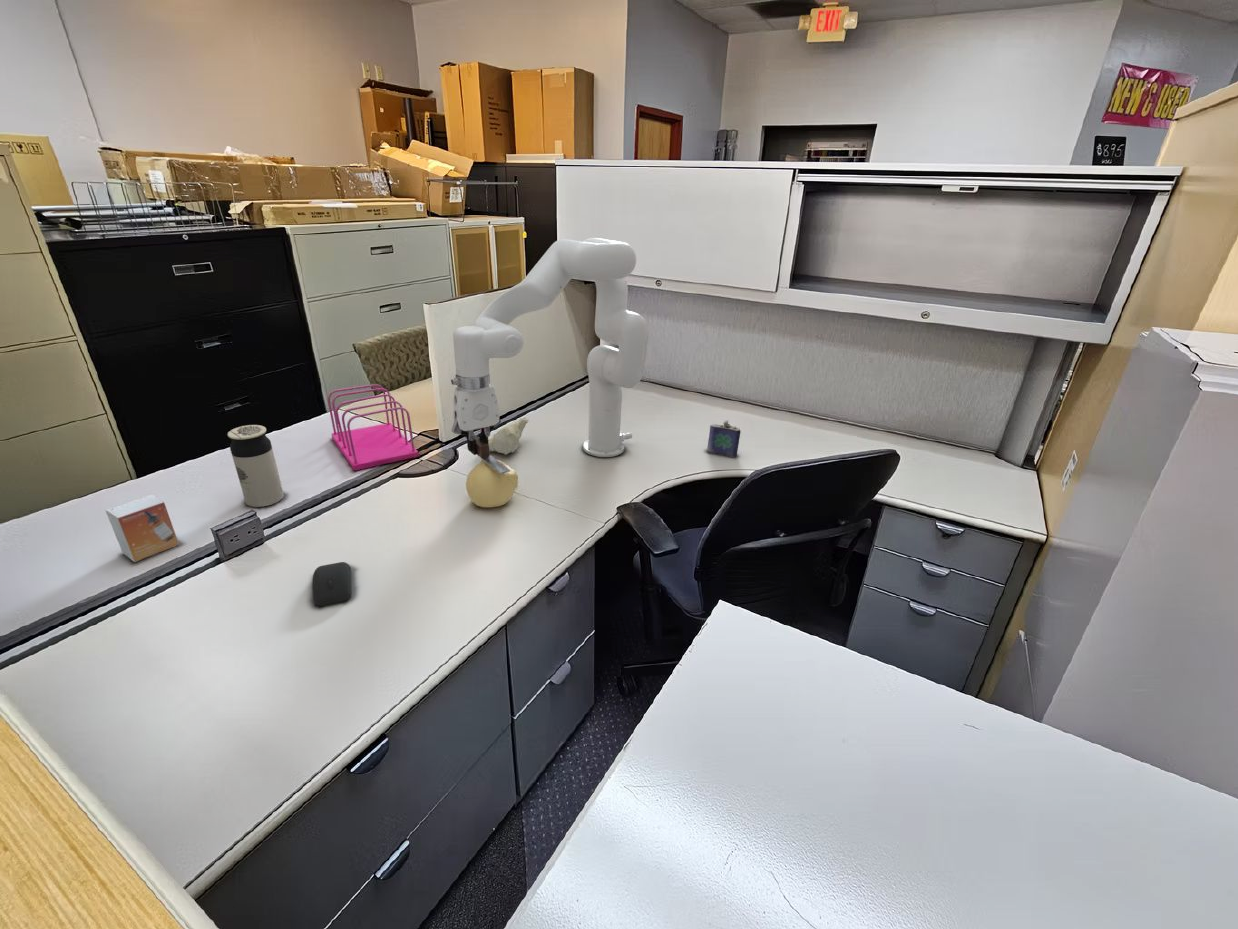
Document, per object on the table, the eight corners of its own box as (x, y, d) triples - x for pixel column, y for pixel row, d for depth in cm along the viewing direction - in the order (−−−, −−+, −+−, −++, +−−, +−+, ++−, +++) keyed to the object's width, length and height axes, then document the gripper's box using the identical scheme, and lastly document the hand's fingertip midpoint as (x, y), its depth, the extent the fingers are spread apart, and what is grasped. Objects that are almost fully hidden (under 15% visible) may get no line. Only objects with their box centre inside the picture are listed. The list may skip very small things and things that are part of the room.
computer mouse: (314, 608, 102) (309, 591, 100) (316, 572, 111) (312, 556, 109) (351, 601, 104) (348, 584, 103) (351, 566, 114) (347, 550, 112)
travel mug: (278, 488, 140) (261, 421, 132) (288, 500, 135) (271, 432, 127) (241, 498, 135) (221, 429, 127) (251, 511, 130) (231, 441, 122)
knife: (466, 447, 141) (465, 436, 140) (476, 445, 143) (475, 434, 141) (500, 474, 129) (499, 462, 127) (510, 471, 130) (509, 459, 129)
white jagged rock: (489, 469, 159) (529, 438, 157) (473, 449, 158) (513, 417, 156) (503, 462, 174) (540, 433, 172) (488, 443, 173) (526, 414, 171)
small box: (134, 563, 111) (116, 518, 106) (122, 553, 114) (103, 509, 109) (180, 544, 117) (164, 501, 113) (167, 536, 120) (151, 493, 115)
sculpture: (525, 501, 140) (524, 462, 135) (485, 518, 132) (483, 478, 127) (498, 484, 147) (496, 447, 142) (458, 500, 139) (455, 461, 134)
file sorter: (354, 471, 149) (344, 417, 142) (331, 438, 167) (322, 388, 160) (419, 457, 159) (412, 405, 152) (391, 427, 177) (384, 380, 170)
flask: (706, 452, 172) (710, 420, 167) (707, 449, 174) (712, 417, 169) (736, 458, 169) (741, 425, 164) (737, 454, 172) (742, 422, 167)
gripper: (447, 391, 124) (454, 465, 132) (511, 379, 133) (514, 449, 141) (434, 381, 129) (441, 453, 137) (497, 371, 138) (500, 439, 146)
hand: (478, 450), depth 139 cm, fingers closed on knife, 2 cm apart
